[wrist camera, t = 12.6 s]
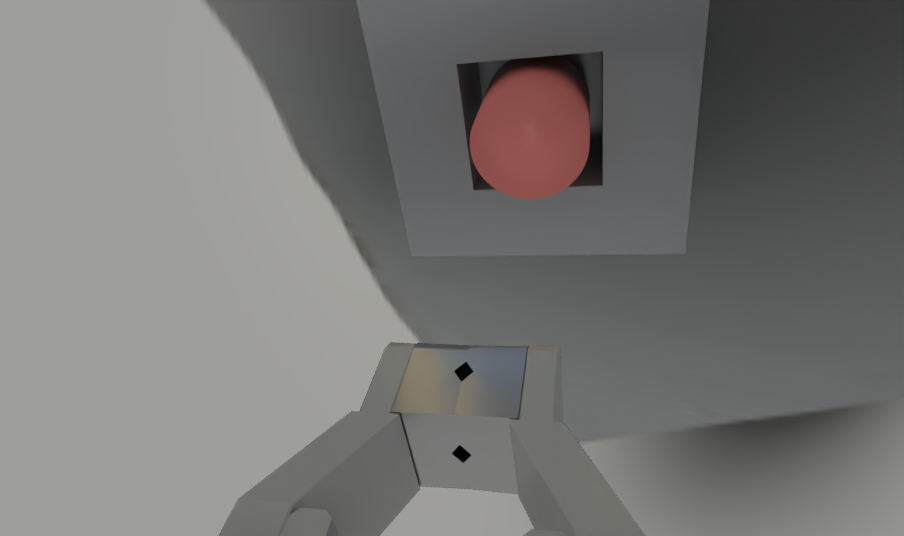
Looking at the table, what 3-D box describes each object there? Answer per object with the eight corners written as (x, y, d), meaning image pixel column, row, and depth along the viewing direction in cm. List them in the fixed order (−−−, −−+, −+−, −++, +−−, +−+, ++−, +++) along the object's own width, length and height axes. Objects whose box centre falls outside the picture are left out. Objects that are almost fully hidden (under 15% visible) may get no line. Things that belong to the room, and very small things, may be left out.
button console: (694, -88, 18) (716, -71, 15) (673, 198, 24) (685, 253, 21) (387, -46, 21) (350, -24, 18) (433, 205, 26) (411, 257, 23)
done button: (589, 46, 19) (589, 82, 17) (590, 149, 21) (590, 197, 19) (480, 56, 20) (462, 92, 17) (491, 154, 22) (476, 201, 19)
